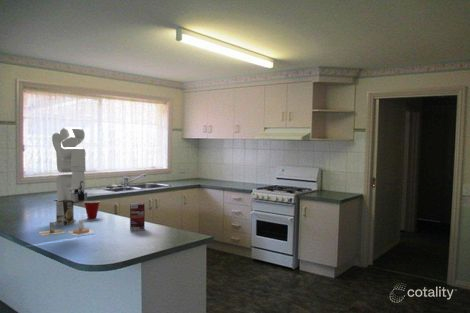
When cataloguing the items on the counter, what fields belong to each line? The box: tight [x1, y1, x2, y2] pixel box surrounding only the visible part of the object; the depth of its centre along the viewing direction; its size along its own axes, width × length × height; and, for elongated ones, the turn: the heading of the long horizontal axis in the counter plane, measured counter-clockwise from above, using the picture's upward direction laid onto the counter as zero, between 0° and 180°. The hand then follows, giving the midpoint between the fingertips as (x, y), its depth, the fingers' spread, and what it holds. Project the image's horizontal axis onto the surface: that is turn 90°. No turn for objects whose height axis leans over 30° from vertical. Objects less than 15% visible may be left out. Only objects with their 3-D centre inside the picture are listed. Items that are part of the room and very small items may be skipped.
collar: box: [71, 191, 88, 203], centre depth 214 cm, size 7×7×4 cm
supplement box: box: [129, 202, 146, 232], centre depth 224 cm, size 9×5×16 cm, turn 105°
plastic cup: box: [83, 200, 101, 220], centre depth 261 cm, size 11×11×12 cm
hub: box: [66, 219, 96, 238], centre depth 215 cm, size 12×12×8 cm
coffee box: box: [55, 200, 75, 226], centre depth 237 cm, size 9×6×16 cm
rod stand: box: [38, 221, 67, 237], centre depth 214 cm, size 12×12×7 cm
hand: (79, 199), depth 214 cm, fingers closed on collar, 7 cm apart
